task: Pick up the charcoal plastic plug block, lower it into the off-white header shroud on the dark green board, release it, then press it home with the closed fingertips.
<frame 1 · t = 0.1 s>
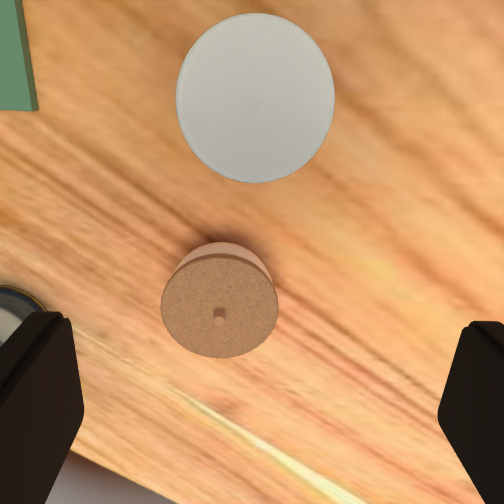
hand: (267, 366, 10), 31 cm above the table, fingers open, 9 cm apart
lidded jar: (223, 272, 44), on the table
supplement tub: (248, 96, 37), on the table
apothecary jar: (9, 322, 45), on the table
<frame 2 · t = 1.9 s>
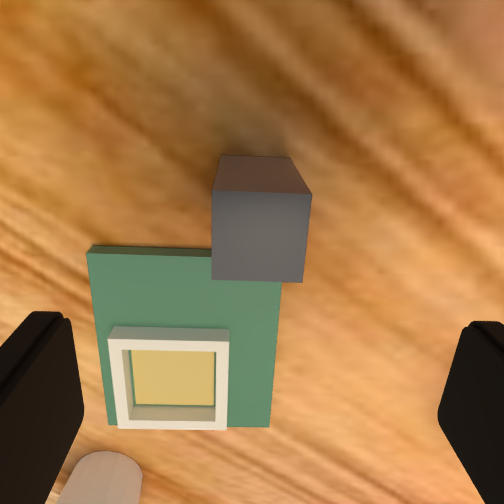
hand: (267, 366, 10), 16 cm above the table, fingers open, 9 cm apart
white cylinder: (109, 472, 34), on the table
board: (189, 339, 28), on the table
plug: (253, 189, 24), on the table
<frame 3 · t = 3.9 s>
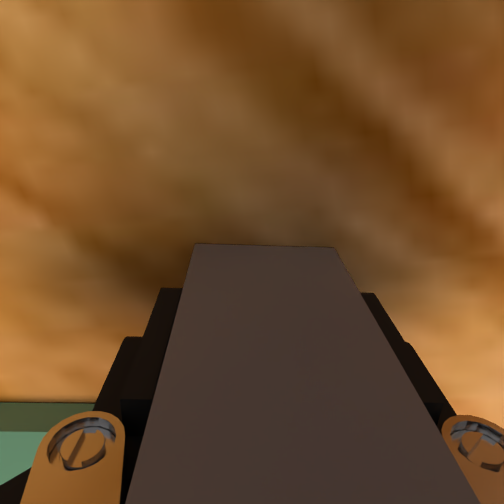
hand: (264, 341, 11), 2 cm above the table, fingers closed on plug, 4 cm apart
plug: (261, 306, 12), on the table, touching gripper
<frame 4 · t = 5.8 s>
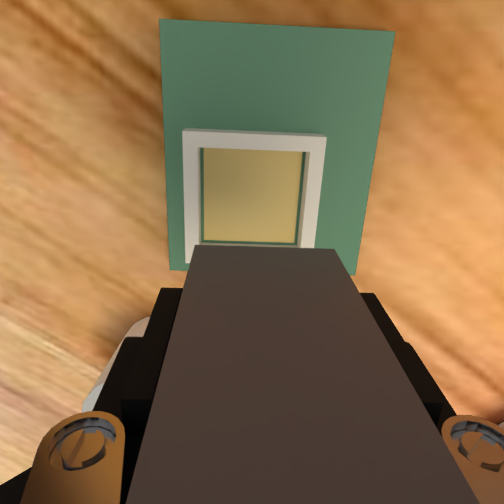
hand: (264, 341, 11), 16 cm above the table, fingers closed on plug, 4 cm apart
white cylinder: (162, 345, 30), on the table
board: (268, 160, 24), on the table
plug: (261, 307, 12), point 14 cm above the table, touching gripper
when the fingers open (4 cm above the table, at t = 7.7 s): plug stays where it is, resting on board.
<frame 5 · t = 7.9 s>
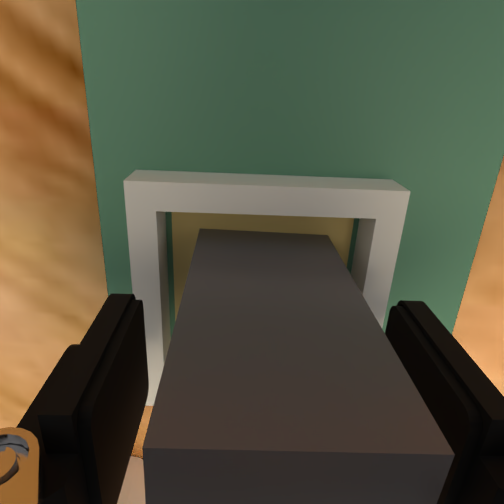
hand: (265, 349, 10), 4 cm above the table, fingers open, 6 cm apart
white cylinder: (119, 492, 19), on the table
board: (289, 220, 14), on the table
plug: (259, 288, 13), point 1 cm above the table, touching board
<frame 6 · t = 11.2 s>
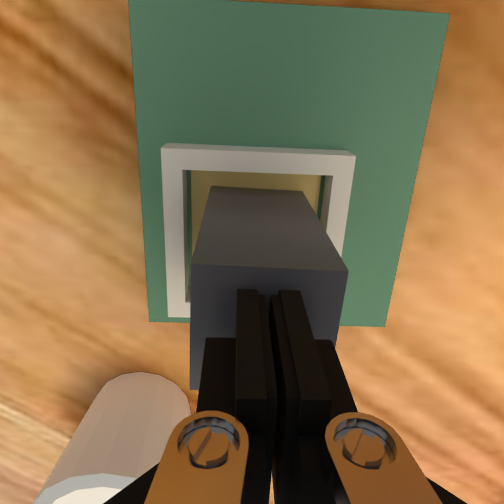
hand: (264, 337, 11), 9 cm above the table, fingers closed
white cylinder: (143, 406, 24), on the table
board: (276, 182, 19), on the table
plug: (253, 231, 18), point 1 cm above the table, touching board
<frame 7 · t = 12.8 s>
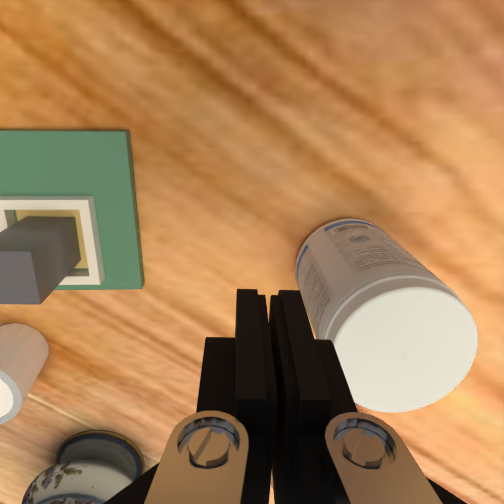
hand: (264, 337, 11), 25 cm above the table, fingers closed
white cylinder: (21, 345, 40), on the table
board: (68, 212, 35), on the table
supplement tub: (343, 261, 38), on the table
plug: (54, 238, 35), point 1 cm above the table, touching board
apothecary jar: (101, 460, 46), on the table
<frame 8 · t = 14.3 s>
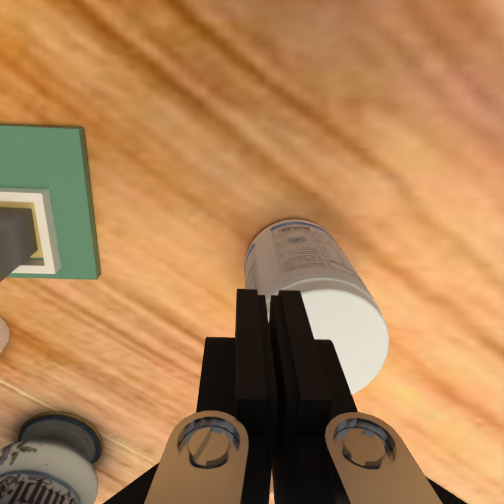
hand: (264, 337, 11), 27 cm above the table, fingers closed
board: (26, 204, 37), on the table
supplement tub: (292, 260, 40), on the table
plug: (12, 228, 36), point 1 cm above the table, touching board
apothecary jar: (62, 440, 49), on the table
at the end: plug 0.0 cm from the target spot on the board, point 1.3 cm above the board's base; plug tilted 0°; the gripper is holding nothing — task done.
